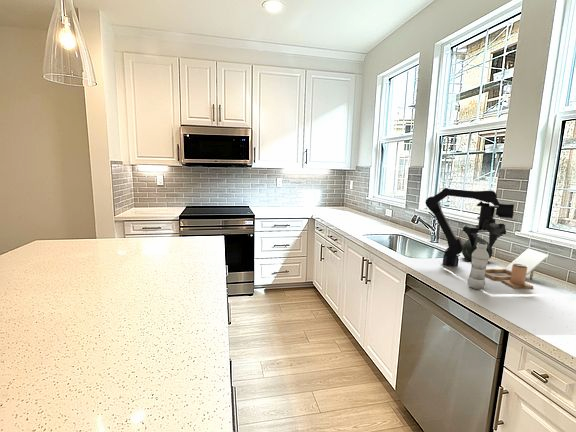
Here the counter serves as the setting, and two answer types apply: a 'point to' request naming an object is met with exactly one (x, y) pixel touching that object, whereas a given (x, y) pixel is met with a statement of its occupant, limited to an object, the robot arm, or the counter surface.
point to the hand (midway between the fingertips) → (481, 247)
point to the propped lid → (529, 260)
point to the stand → (525, 286)
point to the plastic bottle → (478, 266)
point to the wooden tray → (498, 274)
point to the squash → (474, 248)
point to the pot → (518, 274)
